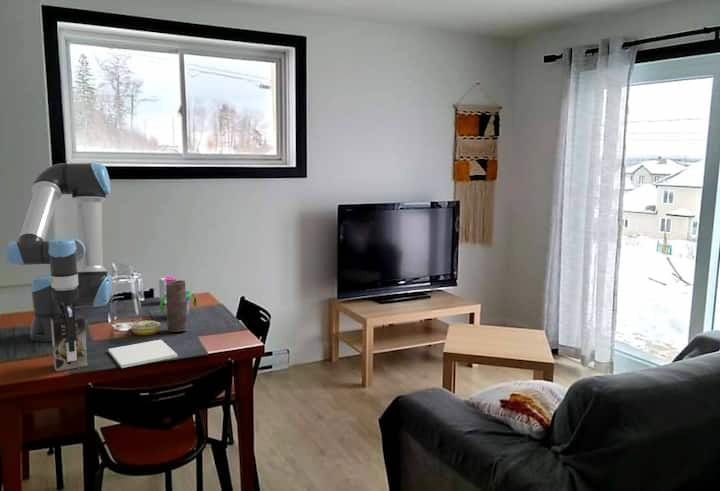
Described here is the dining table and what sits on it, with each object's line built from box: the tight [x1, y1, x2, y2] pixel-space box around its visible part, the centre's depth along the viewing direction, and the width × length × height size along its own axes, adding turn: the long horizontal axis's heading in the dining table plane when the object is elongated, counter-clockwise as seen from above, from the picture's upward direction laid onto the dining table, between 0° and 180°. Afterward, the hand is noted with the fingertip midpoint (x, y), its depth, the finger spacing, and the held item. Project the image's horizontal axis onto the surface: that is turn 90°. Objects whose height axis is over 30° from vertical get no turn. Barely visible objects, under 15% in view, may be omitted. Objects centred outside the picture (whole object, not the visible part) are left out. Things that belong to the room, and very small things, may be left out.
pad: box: [107, 339, 178, 369], centre depth 192 cm, size 18×18×1 cm
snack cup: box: [159, 290, 198, 317], centre depth 236 cm, size 16×10×10 cm
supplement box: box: [158, 276, 177, 306], centre depth 256 cm, size 6×6×12 cm
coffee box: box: [51, 313, 88, 372], centre depth 180 cm, size 9×6×16 cm
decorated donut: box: [131, 320, 162, 336], centre depth 216 cm, size 10×11×4 cm
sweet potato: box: [166, 279, 188, 333], centre depth 216 cm, size 8×7×20 cm
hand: (70, 357), depth 181 cm, fingers closed on coffee box, 6 cm apart
